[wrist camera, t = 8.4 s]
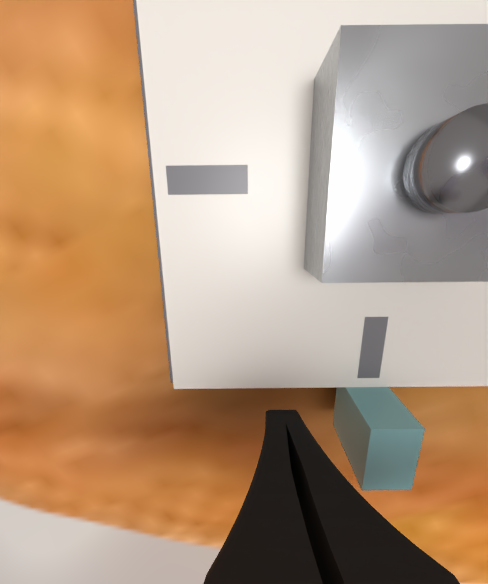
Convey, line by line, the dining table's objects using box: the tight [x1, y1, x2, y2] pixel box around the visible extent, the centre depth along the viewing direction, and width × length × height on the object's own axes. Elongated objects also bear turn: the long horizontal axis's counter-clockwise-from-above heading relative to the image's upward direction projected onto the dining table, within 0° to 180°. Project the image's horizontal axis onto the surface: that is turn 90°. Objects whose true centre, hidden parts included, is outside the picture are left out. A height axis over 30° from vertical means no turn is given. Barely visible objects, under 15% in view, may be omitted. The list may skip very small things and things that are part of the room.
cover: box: [304, 24, 488, 283], centre depth 8 cm, size 6×6×4 cm
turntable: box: [136, 0, 488, 490], centre depth 9 cm, size 18×21×4 cm
